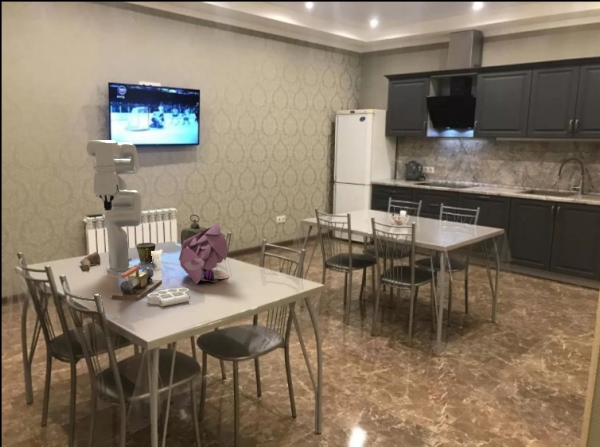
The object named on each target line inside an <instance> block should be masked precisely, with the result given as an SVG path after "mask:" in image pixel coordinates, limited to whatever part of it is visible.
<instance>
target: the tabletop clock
mask: <svg viewBox="0 0 600 447" xmlns="http://www.w3.org/2000/svg"><path fill="white" fill-rule="evenodd" d="M192 217H197V218H198V220H196V219H192ZM189 220H190V221H191V223H190V226H189V227H185V228H182V230H181V231H180V232H181V233H180V246H181V248H182V246H183V242H184V241H185V240H187V239H189V238H191V237H193V236H195V235H197V234H199V233H201V232H203V231H204V230H206V229H208V228H207V227H205V226H200V224H199V221H200V217H199V216H198V215H197V214H191V215H190V216H189Z"/></svg>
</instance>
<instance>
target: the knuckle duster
mask: <svg viewBox="0 0 600 447" xmlns="http://www.w3.org/2000/svg"><path fill="white" fill-rule="evenodd" d="M146 302H147V303H148V304H149V303H150V305H159V306H160V307H162V308H163V306H164V307H165V306H166V307H168V306H172V305H178V304H183V303H187V302H190V289H189V288H187V287H180V288H168V289H162V290H160V289H159V290H158V291H156V292H149V293H148V294H147V295H146ZM161 305H162V306H161Z"/></svg>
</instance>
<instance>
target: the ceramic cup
mask: <svg viewBox="0 0 600 447" xmlns="http://www.w3.org/2000/svg"><path fill="white" fill-rule="evenodd" d="M156 245H157V244H156V243H155V242H139V243H137V244H136V246H135V247H136V251H137V255H138V258H139V262H140V265H149V264H150V263H151V262H152V256H151V251H156ZM151 264H152V263H151Z"/></svg>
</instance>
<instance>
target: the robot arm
mask: <svg viewBox="0 0 600 447" xmlns="http://www.w3.org/2000/svg"><path fill="white" fill-rule="evenodd" d="M86 152H87V154H88V156H89V157H90V158H95V164H96V165H95V166H94V167H93V170H96V171H95V173H94V177H93V193H94V195H95V197H97V198H99V199H101V201H102V202H103V208H104V211H105V212H104V221H105V226H106V232H107V247H108V263H109V265H108V266H106V271H108V272H113V273H120V272H122V273H123V272H126V271H127V270H129V269H131V268H132V267H133V264H130V262H131V261H132V257H131V256H130V257H129V238H128V234H127V231H126V230H125V229H124V227H127V228H128V227H132V228H133V227H139V226H140V225H141V222H142V208H143V207H142V206H143V205H142V204H143V203H142V196H141V193H140V191H138V190H133V189H132V190H131V189H129V190H128V184H127V182H126V181H125V180H124V179H123V178H122V177H121V176H120V175H137V174H138V173H139V172H140V162H139V156H138V150H137V147H136V145H135V144H134V143H132V142H118V141H116V140H111V139H110V140H109V139H108V140H103V139H102V140H100V139H99V140H98V139H97V140H96V139H95V140H93V139H92V140H89V141H88V142H87V145H86Z"/></svg>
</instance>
